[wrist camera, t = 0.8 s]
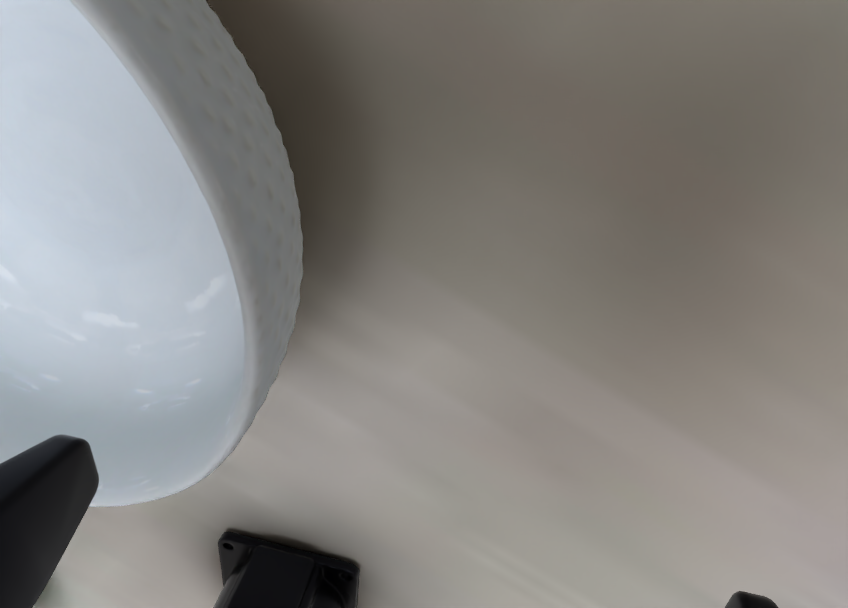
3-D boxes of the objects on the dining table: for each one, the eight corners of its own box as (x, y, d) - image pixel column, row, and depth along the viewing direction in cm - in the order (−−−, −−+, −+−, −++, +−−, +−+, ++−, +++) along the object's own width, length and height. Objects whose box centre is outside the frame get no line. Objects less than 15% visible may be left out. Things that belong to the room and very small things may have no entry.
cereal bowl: (-280, -15, 19) (-648, 36, 14) (96, -410, 13) (-313, -637, 7) (91, 402, 27) (-47, 550, 21) (457, 291, 20) (402, 464, 14)
